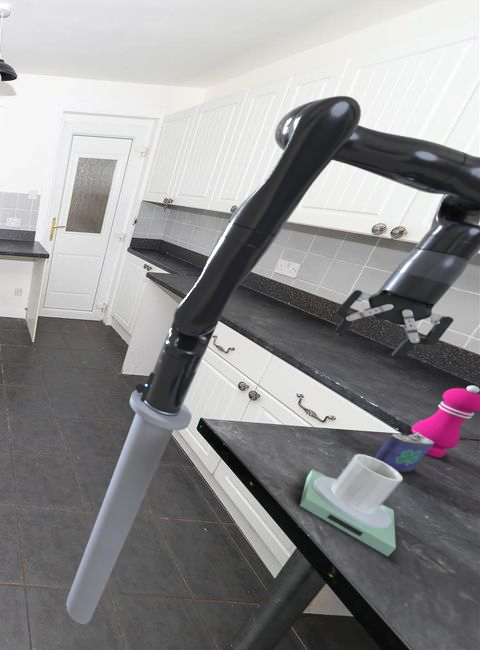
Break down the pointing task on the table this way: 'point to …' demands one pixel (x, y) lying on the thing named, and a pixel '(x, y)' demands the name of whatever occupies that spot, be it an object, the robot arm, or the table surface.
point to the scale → (349, 514)
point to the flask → (404, 451)
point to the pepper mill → (449, 419)
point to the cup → (366, 483)
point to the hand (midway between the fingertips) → (365, 345)
